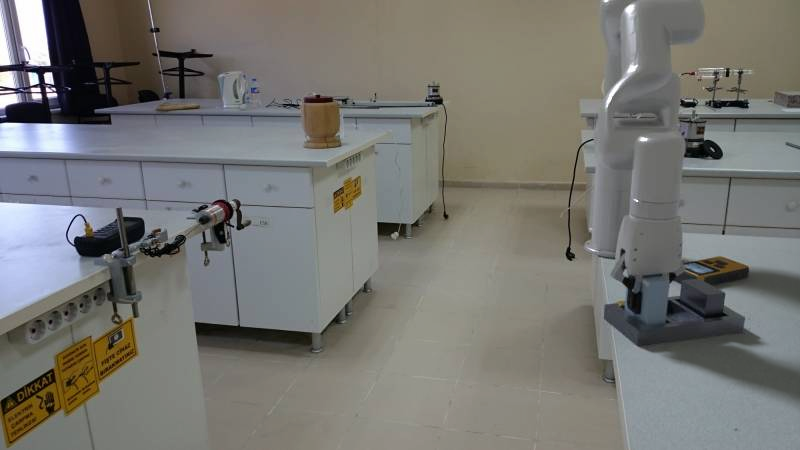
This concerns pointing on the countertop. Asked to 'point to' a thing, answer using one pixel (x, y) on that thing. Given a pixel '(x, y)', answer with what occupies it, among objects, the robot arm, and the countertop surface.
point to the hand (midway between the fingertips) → (644, 309)
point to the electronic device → (714, 271)
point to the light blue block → (652, 300)
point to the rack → (681, 316)
